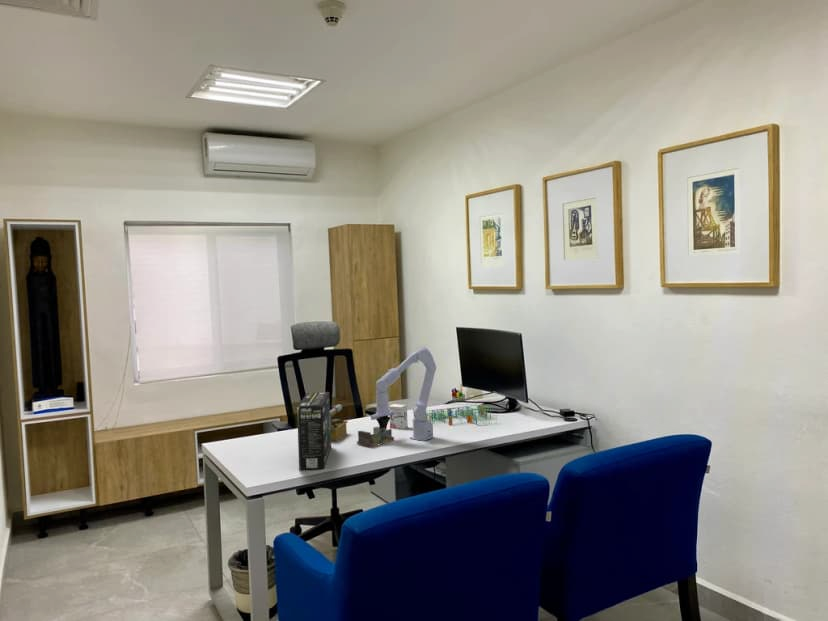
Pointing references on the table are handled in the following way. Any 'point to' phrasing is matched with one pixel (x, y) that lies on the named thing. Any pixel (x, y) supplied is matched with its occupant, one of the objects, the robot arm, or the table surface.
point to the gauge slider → (379, 429)
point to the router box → (314, 430)
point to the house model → (467, 412)
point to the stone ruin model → (374, 438)
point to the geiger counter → (337, 425)
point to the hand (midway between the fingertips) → (383, 431)
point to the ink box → (398, 416)
